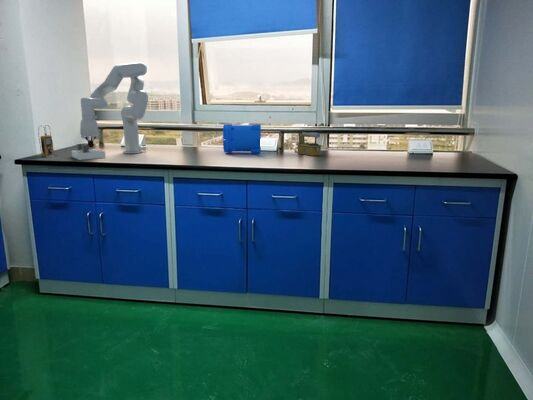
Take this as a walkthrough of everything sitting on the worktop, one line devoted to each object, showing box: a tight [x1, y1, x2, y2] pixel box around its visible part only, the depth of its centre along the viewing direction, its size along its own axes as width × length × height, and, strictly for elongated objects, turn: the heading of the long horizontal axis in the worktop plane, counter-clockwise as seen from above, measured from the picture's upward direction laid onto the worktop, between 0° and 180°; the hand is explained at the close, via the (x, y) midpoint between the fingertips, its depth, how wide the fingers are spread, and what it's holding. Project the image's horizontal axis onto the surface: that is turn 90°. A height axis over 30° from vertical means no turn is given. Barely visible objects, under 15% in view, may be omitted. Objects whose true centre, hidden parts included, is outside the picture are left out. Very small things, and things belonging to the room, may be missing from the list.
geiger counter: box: [293, 131, 324, 156], centre depth 302 cm, size 9×26×15 cm, turn 35°
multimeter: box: [37, 125, 59, 159], centre depth 285 cm, size 15×10×20 cm
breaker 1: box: [76, 143, 83, 150], centre depth 284 cm, size 2×2×4 cm
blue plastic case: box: [222, 123, 262, 154], centre depth 306 cm, size 25×22×19 cm
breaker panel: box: [71, 148, 106, 161], centre depth 283 cm, size 16×16×4 cm
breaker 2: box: [82, 145, 88, 152], centre depth 275 cm, size 2×2×4 cm
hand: (90, 147), depth 283 cm, fingers closed
